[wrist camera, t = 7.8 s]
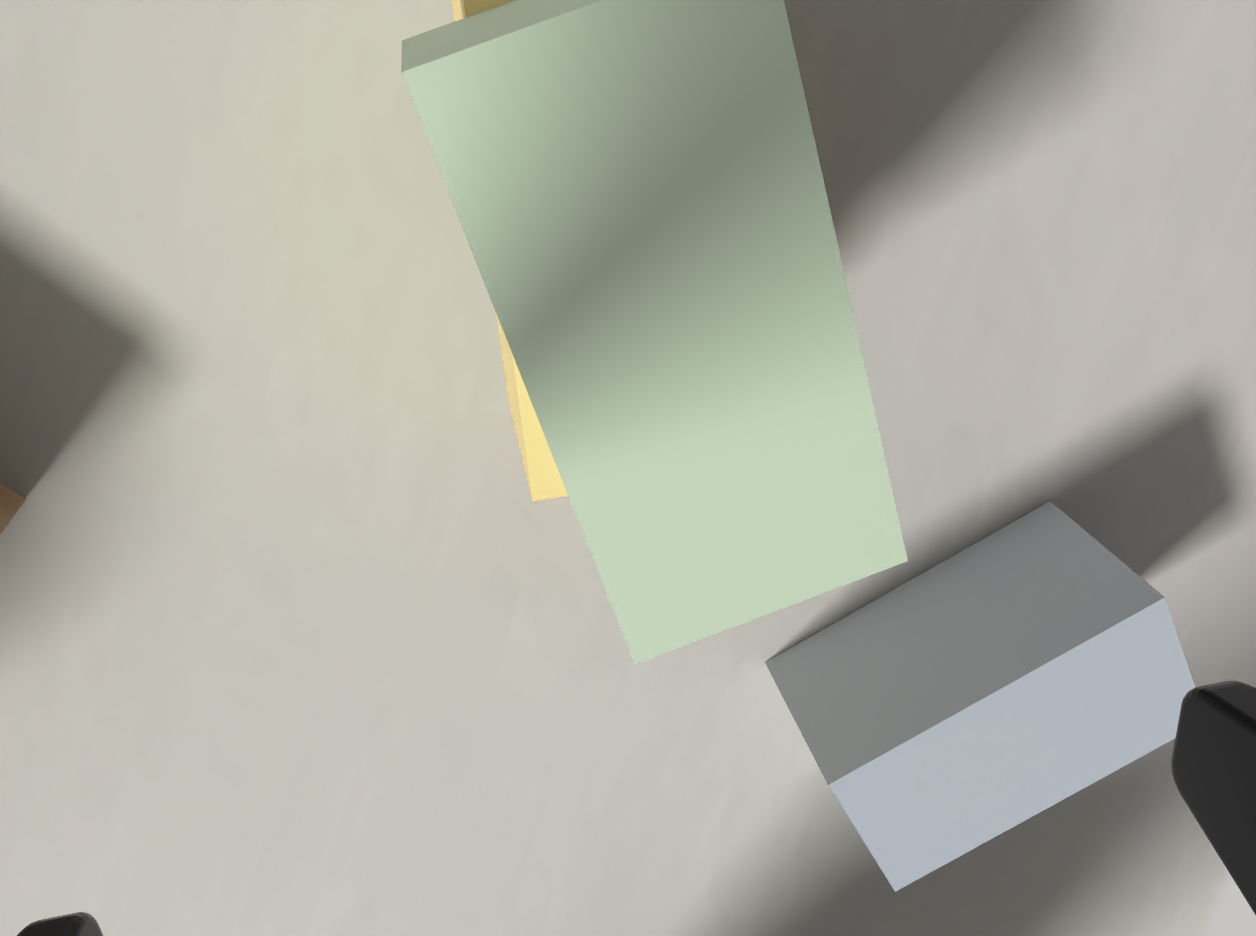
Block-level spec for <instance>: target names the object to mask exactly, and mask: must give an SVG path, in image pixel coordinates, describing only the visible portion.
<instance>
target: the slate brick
mask: <svg viewBox="0 0 1256 936" xmlns="http://www.w3.org/2000/svg"><path fill="white" fill-rule="evenodd" d="M765 663H766V665H767V667H768V669H769V671H770V673H771V675H772V677H773V679H774V681H775V683H776V685H777V687H778V688H779V690H780V692H781V694H782V696H783V698H784V700H785V702H786V704H787V706H788V708H789V710H790V712H791V714H792V716H793V718H794V720H795V721H796V723H797V725H798V727H799V729H800V731H801V733H802V735H803V737H804V739H805V741H806V743H807V745H808V747H809V749H810V751H811V752H812V754H813V756H814V758H815V760H816V762H817V764H818V766H819V768H820V770H821V772H822V774H823V776H824V778H825V780H826V782H827V784H828V785H829V787H830V789H831V790H832V792H833V793H834V795H835V797H836V798H837V800H838V801H839V803H840V805H841V806H842V808H843V809H844V811H845V813H846V814H847V816H848V817H849V819H850V821H851V822H852V824H853V825H854V827H855V829H856V830H857V832H858V833H859V835H860V837H861V838H862V840H863V841H864V843H865V845H866V846H867V848H868V849H869V851H870V853H871V854H872V856H873V857H874V859H875V861H876V862H877V864H878V865H879V867H880V869H881V870H882V872H883V873H884V875H885V877H886V878H887V880H888V881H889V883H890V885H891V886H892V888H893V889H894V891H895V892H896V891H898V890H899V889H901V888H903V887H905V886H907V885H909V884H910V883H912V882H914V881H916V880H918V879H920V878H921V877H923V876H925V875H927V874H929V873H930V872H932V871H934V870H936V869H938V868H940V867H941V866H943V865H945V864H947V863H949V862H951V861H952V860H954V859H956V858H958V857H960V856H961V855H963V854H965V853H967V852H969V851H971V850H972V849H974V848H976V847H978V846H980V845H982V844H983V843H985V842H987V841H989V840H991V839H993V838H994V837H996V836H998V835H1000V834H1002V833H1003V832H1005V831H1007V830H1009V829H1011V828H1013V827H1014V826H1016V825H1018V824H1020V823H1022V822H1024V821H1025V820H1027V819H1029V818H1031V817H1033V816H1034V815H1036V814H1038V813H1040V812H1042V811H1044V810H1045V809H1047V808H1049V807H1051V806H1053V805H1055V804H1056V803H1058V802H1060V801H1062V800H1064V799H1065V798H1067V797H1069V796H1071V795H1073V794H1075V793H1076V792H1078V791H1080V790H1082V789H1084V788H1086V787H1087V786H1089V785H1091V784H1093V783H1095V782H1096V781H1098V780H1100V779H1102V778H1104V777H1106V776H1107V775H1109V774H1111V773H1113V772H1115V771H1117V770H1118V769H1120V768H1122V767H1124V766H1126V765H1127V764H1129V763H1131V762H1133V761H1135V760H1137V759H1138V758H1140V757H1142V756H1144V755H1146V754H1148V753H1149V752H1151V751H1153V750H1155V749H1157V748H1158V747H1160V746H1162V745H1164V744H1166V743H1168V742H1169V741H1171V740H1173V739H1175V738H1176V732H1177V726H1178V721H1179V715H1180V709H1181V704H1182V700H1183V698H1184V697H1185V695H1186V694H1187V692H1188V691H1189V690H1191V689H1193V688H1196V687H1195V684H1194V681H1193V679H1192V676H1191V673H1190V670H1189V667H1188V664H1187V661H1186V658H1185V655H1184V652H1183V649H1182V646H1181V643H1180V640H1179V637H1178V635H1177V632H1176V629H1175V626H1174V623H1173V620H1172V617H1171V614H1170V611H1169V608H1168V605H1167V602H1166V599H1165V597H1164V596H1163V595H1161V594H1160V593H1159V592H1158V591H1157V590H1155V589H1154V588H1153V587H1152V586H1151V585H1150V584H1148V583H1147V582H1146V581H1145V580H1144V579H1142V578H1141V577H1140V576H1139V575H1138V574H1136V573H1135V572H1134V571H1133V570H1132V569H1131V568H1129V567H1128V566H1127V565H1126V564H1125V563H1123V562H1122V561H1121V560H1120V559H1119V558H1117V557H1116V556H1115V555H1114V554H1113V553H1111V552H1110V551H1109V550H1108V549H1107V548H1106V547H1104V546H1103V545H1102V544H1101V543H1100V542H1098V541H1097V540H1096V539H1095V538H1094V537H1092V536H1091V535H1090V534H1089V533H1088V532H1087V531H1085V530H1084V529H1083V528H1082V527H1081V526H1079V525H1078V524H1077V523H1076V522H1075V521H1073V520H1072V519H1071V518H1070V517H1069V516H1068V515H1066V514H1065V513H1064V512H1063V511H1062V510H1060V509H1059V508H1058V507H1057V506H1056V505H1054V504H1053V503H1052V502H1051V501H1049V502H1047V503H1045V504H1044V505H1042V506H1040V507H1038V508H1037V509H1035V510H1033V511H1031V512H1030V513H1028V514H1026V515H1024V516H1023V517H1021V518H1019V519H1017V520H1015V521H1014V522H1012V523H1010V524H1008V525H1007V526H1005V527H1003V528H1001V529H1000V530H998V531H996V532H994V533H992V534H991V535H989V536H987V537H985V538H984V539H982V540H980V541H978V542H977V543H975V544H973V545H971V546H970V547H968V548H966V549H964V550H962V551H961V552H959V553H957V554H955V555H954V556H952V557H950V558H948V559H947V560H945V561H943V562H941V563H940V564H938V565H936V566H934V567H932V568H931V569H929V570H927V571H925V572H924V573H922V574H920V575H918V576H917V577H915V578H913V579H911V580H909V581H908V582H906V583H904V584H902V585H901V586H899V587H897V588H895V589H894V590H892V591H890V592H888V593H887V594H885V595H883V596H881V597H879V598H878V599H876V600H874V601H872V602H871V603H869V604H867V605H865V606H864V607H862V608H860V609H858V610H856V611H855V612H853V613H851V614H849V615H848V616H846V617H844V618H842V619H841V620H839V621H837V622H835V623H834V624H832V625H830V626H828V627H826V628H825V629H823V630H821V631H819V632H818V633H816V634H814V635H812V636H811V637H809V638H807V639H805V640H804V641H802V642H800V643H798V644H796V645H795V646H793V647H791V648H789V649H788V650H786V651H784V652H782V653H781V654H779V655H777V656H775V657H773V658H772V659H770V660H768V661H766V662H765Z"/></svg>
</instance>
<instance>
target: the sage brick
mask: <svg viewBox="0 0 1256 936" xmlns="http://www.w3.org/2000/svg"><path fill="white" fill-rule="evenodd" d="M402 74H403V77H404V80H405V82H406V85H407V87H408V90H409V92H410V95H411V97H412V100H413V102H414V105H415V108H416V110H417V113H418V115H419V118H420V120H421V123H422V125H423V128H424V130H425V133H426V136H427V138H428V141H429V143H430V146H431V148H432V151H433V153H434V156H435V158H436V161H437V163H438V166H439V169H440V171H441V174H442V176H443V179H444V181H445V184H446V186H447V189H448V191H449V194H450V197H451V199H452V202H453V204H454V207H455V209H456V212H457V214H458V217H459V219H460V222H461V225H462V227H463V230H464V232H465V235H466V237H467V240H468V242H469V245H470V247H471V250H472V252H473V255H474V258H475V260H476V263H477V265H478V268H479V270H480V273H481V275H482V278H483V280H484V283H485V286H486V288H487V291H488V293H489V296H490V298H491V301H492V303H493V306H494V308H495V311H496V314H497V316H498V319H499V321H500V324H501V326H502V329H503V331H504V334H505V336H506V339H507V341H508V344H509V347H510V349H511V352H512V354H513V357H514V359H515V362H516V364H517V367H518V369H519V372H520V375H521V377H522V380H523V382H524V385H525V387H526V390H527V392H528V395H529V397H530V400H531V402H532V405H533V408H534V410H535V413H536V415H537V418H538V420H539V423H540V425H541V428H542V430H543V433H544V436H545V438H546V441H547V443H548V446H549V448H550V451H551V453H552V456H553V458H554V461H555V464H556V466H557V469H558V471H559V474H560V476H561V479H562V481H563V484H564V486H565V489H566V491H567V494H568V497H569V499H570V502H571V504H572V507H573V509H574V512H575V514H576V517H577V519H578V522H579V525H580V527H581V530H582V532H583V535H584V537H585V540H586V542H587V545H588V547H589V550H590V553H591V555H592V558H593V560H594V563H595V565H596V568H597V570H598V573H599V575H600V578H601V580H602V583H603V586H604V588H605V591H606V593H607V596H608V598H609V601H610V603H611V606H612V608H613V611H614V614H615V616H616V619H617V621H618V624H619V626H620V629H621V631H622V634H623V636H624V639H625V641H626V644H627V647H628V649H629V652H630V654H631V657H632V659H633V662H634V664H635V665H636V664H638V663H641V662H644V661H646V660H649V659H651V658H654V657H657V656H659V655H662V654H665V653H667V652H670V651H672V650H675V649H678V648H680V647H683V646H686V645H688V644H691V643H694V642H696V641H699V640H701V639H704V638H707V637H709V636H712V635H715V634H717V633H720V632H723V631H725V630H728V629H730V628H733V627H736V626H738V625H741V624H744V623H746V622H749V621H751V620H754V619H757V618H759V617H762V616H765V615H767V614H770V613H773V612H775V611H778V610H780V609H783V608H786V607H788V606H791V605H794V604H796V603H799V602H802V601H804V600H807V599H809V598H812V597H815V596H817V595H820V594H823V593H825V592H828V591H830V590H833V589H836V588H838V587H841V586H844V585H846V584H849V583H852V582H854V581H857V580H859V579H862V578H865V577H867V576H870V575H873V574H875V573H878V572H881V571H883V570H886V569H888V568H891V567H894V566H896V565H899V564H902V563H904V562H907V561H908V559H907V555H906V550H905V546H904V541H903V536H902V532H901V527H900V523H899V518H898V514H897V509H896V505H895V500H894V496H893V491H892V487H891V482H890V478H889V473H888V469H887V464H886V460H885V455H884V451H883V446H882V442H881V437H880V432H879V428H878V423H877V419H876V414H875V410H874V405H873V401H872V396H871V392H870V387H869V383H868V378H867V374H866V369H865V365H864V360H863V356H862V351H861V347H860V342H859V338H858V333H857V328H856V324H855V319H854V315H853V310H852V306H851V301H850V297H849V292H848V288H847V283H846V279H845V274H844V270H843V265H842V261H841V256H840V252H839V247H838V243H837V238H836V234H835V229H834V224H833V220H832V215H831V211H830V206H829V202H828V197H827V193H826V188H825V184H824V179H823V175H822V170H821V166H820V161H819V157H818V152H817V148H816V143H815V139H814V134H813V130H812V125H811V120H810V116H809V111H808V107H807V102H806V98H805V93H804V89H803V84H802V80H801V75H800V71H799V66H798V62H797V57H796V53H795V48H794V44H793V39H792V35H791V30H790V26H789V21H788V16H787V12H786V7H785V3H784V0H514V1H511V2H508V3H506V4H503V5H500V6H497V7H494V8H492V9H489V10H486V11H483V12H480V13H478V14H475V15H472V16H469V17H467V18H464V19H461V20H458V21H455V22H453V23H450V24H447V25H444V26H441V27H439V28H436V29H433V30H430V31H428V32H425V33H422V34H419V35H416V36H414V37H411V38H408V39H405V40H402Z"/></svg>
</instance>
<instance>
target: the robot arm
mask: <svg viewBox="0 0 1256 936" xmlns="http://www.w3.org/2000/svg"><path fill="white" fill-rule="evenodd" d="M1172 773H1173V777H1174V781H1175V783H1176V786H1177V788H1178V790H1179V792H1180V794H1181V796H1182V797H1183V799H1184V801H1185V802H1186V804H1187V805H1188V807H1189V809H1190V810H1191V812H1192V813H1193V815H1194V817H1195V818H1196V820H1197V821H1198V823H1199V825H1200V826H1201V828H1202V829H1203V831H1204V833H1205V834H1206V836H1207V838H1208V839H1209V841H1210V842H1211V844H1212V846H1213V847H1214V849H1215V850H1216V852H1217V854H1218V855H1219V857H1220V858H1221V860H1222V862H1223V863H1224V865H1225V866H1226V868H1227V870H1228V871H1229V873H1230V874H1231V876H1232V878H1233V879H1234V881H1235V883H1236V884H1237V886H1238V887H1239V889H1240V890H1241V892H1242V894H1243V895H1244V897H1245V898H1246V900H1247V902H1248V903H1249V905H1250V906H1251V908H1252V910H1253V911H1254V913H1255V915H1256V688H1255V687H1252V686H1250V685H1247V684H1244V683H1241V682H1237V681H1225V682H1220V683H1215V684H1210V685H1205V686H1200V687H1196V688H1193V689H1191V690H1189V691H1188V692H1187V694H1186V695H1185V697H1184V698H1183V700H1182V704H1181V709H1180V715H1179V721H1178V726H1177V732H1176V738H1175V743H1174V749H1173V755H1172ZM17 936H103V934H102V932H101V929H100V927H99V925H98V923H97V921H96V920H95V918H94V917H92V916H91V915H90V914H88V913H84V912H77V913H72V914H67V915H63V916H58V917H53V918H48V919H43V920H38V921H36V922H33V923H31V924H29V925H28V926H26V927H25V928H24V929H23V930H22V931H21V932H20V933H19V934H18V935H17Z"/></svg>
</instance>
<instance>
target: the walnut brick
mask: <svg viewBox="0 0 1256 936" xmlns="http://www.w3.org/2000/svg"><path fill="white" fill-rule="evenodd" d="M25 499H26V498H24V497H23V496H21V495H20V494H18V493H16V492H15V491H13V490H12V489H10V488H8V487H7V486H5V485H4V484H2V483H0V535H1V533H2V532H3V530H4V529H5V527H6V526H7V524H8V523H9V522H10V520H11V519H12V517H13V516H14V514H15V513H16V512H17V510H18V509H19V507H20V506H21V504H22V503H23V502H24V500H25Z"/></svg>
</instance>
